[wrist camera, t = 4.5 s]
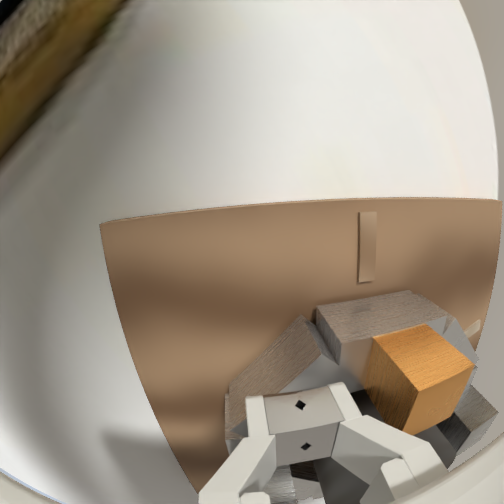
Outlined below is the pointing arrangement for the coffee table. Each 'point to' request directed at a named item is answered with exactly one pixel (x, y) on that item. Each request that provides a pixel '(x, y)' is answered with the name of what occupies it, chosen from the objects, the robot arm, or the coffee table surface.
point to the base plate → (281, 297)
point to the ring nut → (369, 375)
